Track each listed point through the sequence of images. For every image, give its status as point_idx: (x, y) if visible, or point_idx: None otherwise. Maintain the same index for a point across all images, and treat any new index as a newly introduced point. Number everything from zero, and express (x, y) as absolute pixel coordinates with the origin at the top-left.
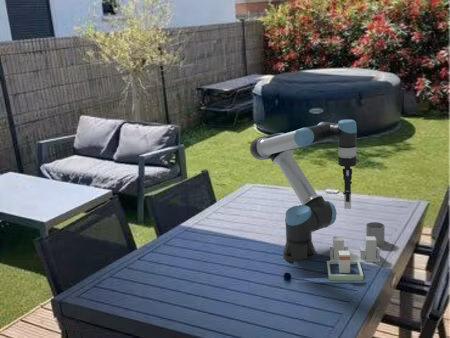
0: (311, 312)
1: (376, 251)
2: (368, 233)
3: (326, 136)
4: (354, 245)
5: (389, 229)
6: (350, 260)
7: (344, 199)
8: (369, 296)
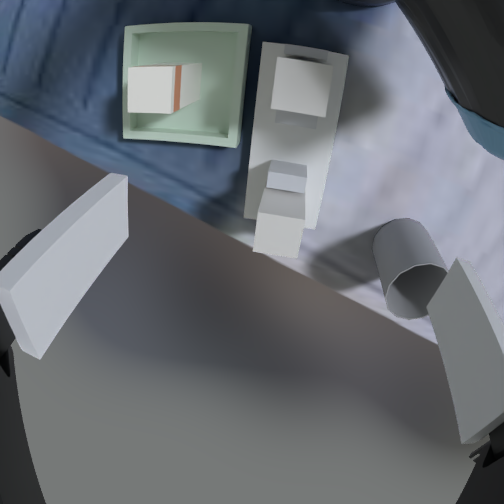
0: (7, 10)
1: None
2: (406, 249)
3: None
4: (419, 179)
5: None
6: (263, 118)
7: (43, 230)
8: (61, 137)
